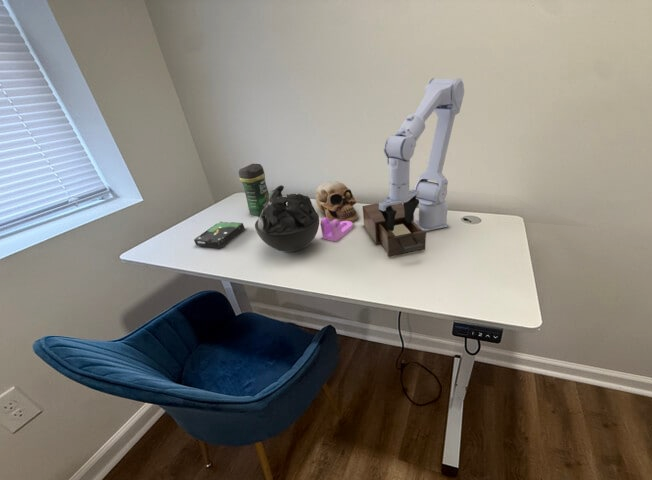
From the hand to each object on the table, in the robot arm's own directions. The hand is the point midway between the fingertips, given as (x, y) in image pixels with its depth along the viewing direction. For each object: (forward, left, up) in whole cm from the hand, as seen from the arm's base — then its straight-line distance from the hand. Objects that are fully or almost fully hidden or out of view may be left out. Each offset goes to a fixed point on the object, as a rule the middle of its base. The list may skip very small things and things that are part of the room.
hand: (399, 225), depth 99 cm
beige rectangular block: (0, 0, -6) cm, 6 cm away
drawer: (0, +2, -7) cm, 7 cm away
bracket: (+16, -18, -8) cm, 25 cm away
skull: (+13, -33, -8) cm, 36 cm away
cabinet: (0, -12, -7) cm, 14 cm away
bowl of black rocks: (+33, -13, -8) cm, 36 cm away
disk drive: (+57, -31, -8) cm, 65 cm away
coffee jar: (+42, -49, -8) cm, 65 cm away
